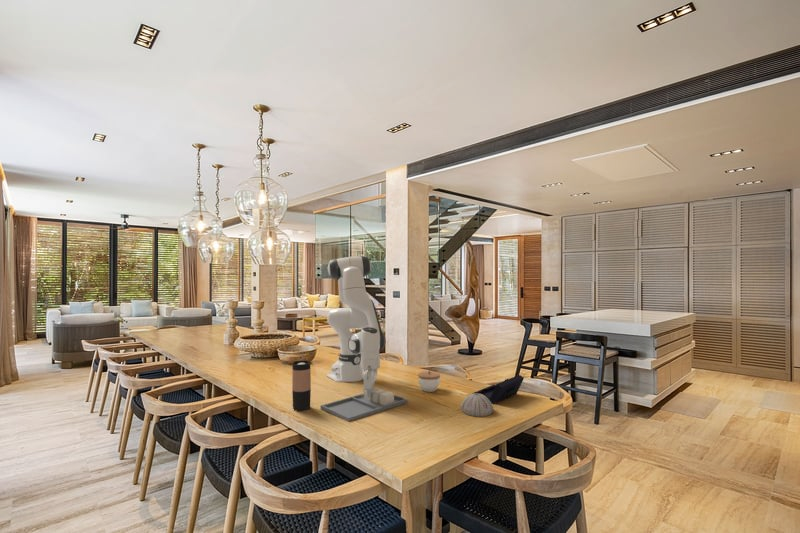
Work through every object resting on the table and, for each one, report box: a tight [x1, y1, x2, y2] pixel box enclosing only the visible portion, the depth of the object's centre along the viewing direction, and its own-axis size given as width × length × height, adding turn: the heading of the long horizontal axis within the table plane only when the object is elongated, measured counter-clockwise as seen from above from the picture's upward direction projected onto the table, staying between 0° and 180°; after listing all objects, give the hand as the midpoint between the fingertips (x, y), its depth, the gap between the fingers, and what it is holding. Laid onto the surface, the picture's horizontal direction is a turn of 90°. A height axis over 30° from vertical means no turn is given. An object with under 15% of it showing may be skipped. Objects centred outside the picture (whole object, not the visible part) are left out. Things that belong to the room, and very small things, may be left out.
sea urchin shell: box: [460, 393, 494, 417], centre depth 165 cm, size 13×14×8 cm
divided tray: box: [320, 392, 408, 423], centre depth 173 cm, size 20×32×2 cm, turn 133°
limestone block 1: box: [363, 386, 379, 400], centre depth 182 cm, size 4×4×4 cm
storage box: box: [471, 374, 525, 405], centre depth 185 cm, size 21×16×10 cm
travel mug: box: [291, 360, 312, 412], centre depth 171 cm, size 8×8×20 cm
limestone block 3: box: [380, 390, 395, 406], centre depth 174 cm, size 4×4×4 cm
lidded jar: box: [417, 370, 441, 393], centre depth 197 cm, size 11×11×9 cm
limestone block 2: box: [372, 388, 386, 403], centre depth 178 cm, size 4×4×4 cm
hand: (370, 394), depth 182 cm, fingers open, 6 cm apart
